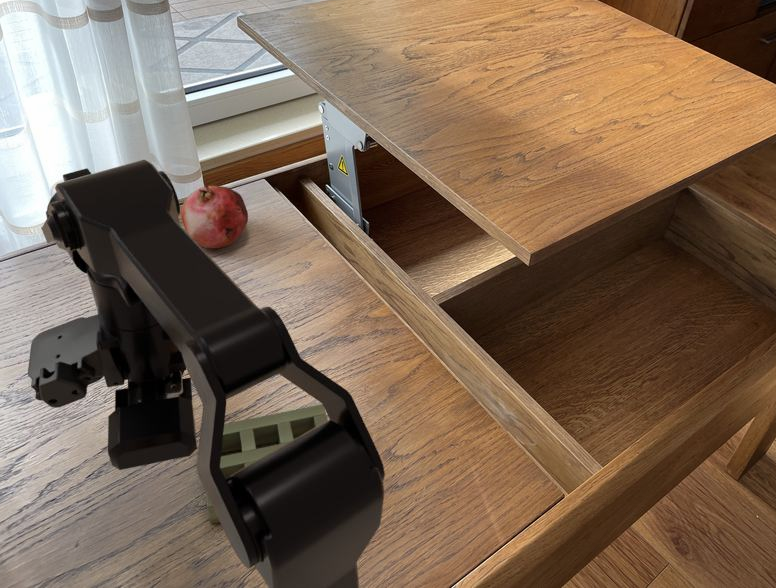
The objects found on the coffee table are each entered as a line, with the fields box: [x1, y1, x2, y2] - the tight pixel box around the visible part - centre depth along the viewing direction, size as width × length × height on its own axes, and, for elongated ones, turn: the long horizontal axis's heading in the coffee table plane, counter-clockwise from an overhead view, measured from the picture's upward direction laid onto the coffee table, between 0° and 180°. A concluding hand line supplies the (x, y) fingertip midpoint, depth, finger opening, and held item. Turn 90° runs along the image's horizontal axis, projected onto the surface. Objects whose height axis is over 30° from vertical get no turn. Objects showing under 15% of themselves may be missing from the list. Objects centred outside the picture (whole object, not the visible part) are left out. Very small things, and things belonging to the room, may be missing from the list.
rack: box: [199, 403, 328, 525], centre depth 77 cm, size 9×13×4 cm
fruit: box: [180, 183, 249, 249], centre depth 102 cm, size 9×10×10 cm
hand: (163, 419), depth 67 cm, fingers closed
